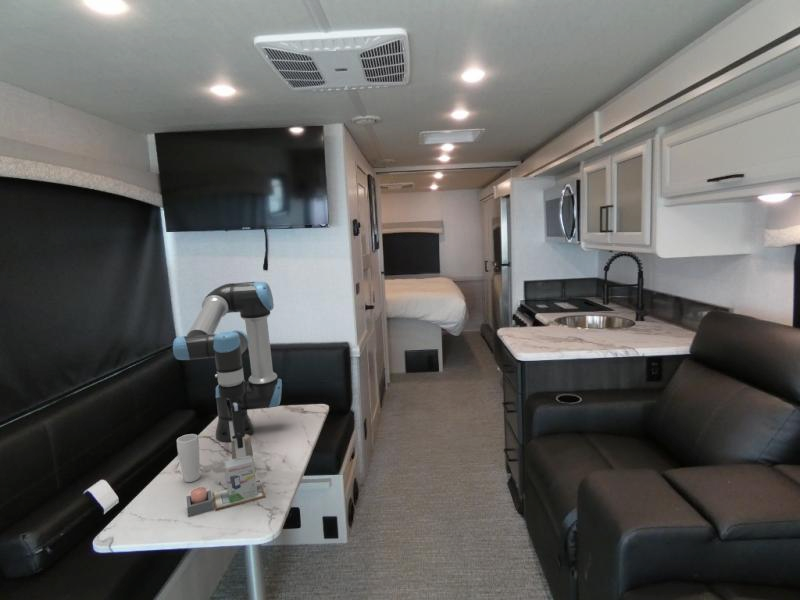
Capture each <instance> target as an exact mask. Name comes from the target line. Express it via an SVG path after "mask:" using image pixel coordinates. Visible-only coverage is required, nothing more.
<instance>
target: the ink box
mask: <svg viewBox="0 0 800 600" xmlns="http://www.w3.org/2000/svg"><path fill="white" fill-rule="evenodd" d="M255 467H256V466H255V461H254V456H253V457H252V456H245V457H241V458H237V459H232V458H231V459H229V460H226V461H224V472H225V474H224V475H225V480H226V483H225V484H226V489H227V492H228V498H229V501H230V503H231V502H235V501H238V500H242V499H245V498H248V497H252V496H255V495H258V493H257V485H256V481H257V478H256V469H255Z"/></svg>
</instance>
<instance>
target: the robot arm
mask: <svg viewBox="0 0 800 600" xmlns="http://www.w3.org/2000/svg"><path fill="white" fill-rule="evenodd" d="M274 306H275V304H274V298H273V293H272V290H271V287H270V285H269V284H268V283H267V282H266V281H246V282H235V283H234V282H233V283H230V282H229V283H225V284H222V285H220V286H218V287H216V288H214V289H213V290H212V291H210V292H209V293H208V294H207V295H206V296H205V298H204V299H203V300H202V303H201V310H200V312H199V314H198V315H197V317H196V319H195V320H194V322H193V324H192V326H191V327H190V329H189V331H188V333H187V334H186V335H182V336H177V337H176V338H174V340H173V343H172V344H173V345H172V353H173V355H174V358H175V359H176V360H179V361H191V360H201V359H212V358H214V359H215V367H216V369H215V370H216V374H214V377H215V378H216V379H217V383H218V385H217V386H215V400H216V408H217V418H218V420H217V425H216V427H215V433H214V434H215V439H216V441H219V442H227V443H230V442H232V441H235V450H236V458H241V457H245V456H246V451H245V442H244V436H245V434H247V435H249V436H250V437H251V436H252V435H253V433H254V431H255V430H254V425H253V423H252V421H251V419H250V417H249V414H248V410H251V411H252V410H259V409H271V408H278V406H280V405H281V404H280V403H281V400H282V392H283V391H282V389H283V388H282V387H283V384H282V383H283V382H282V381H283V380H282V379H281V378H278V374H277V373H276V372H274V370H273V359H272V351H271V340H270V333H269V325H268V318H269V316H270V315H271V311H273V310H274ZM230 313H239V314H240V319H242V320H244V323H245V329H246V330H245V331H246V332H244V331H243V330H237V329H236V330H231V331H223V332H222V331H221V332H219V333H215V332H216V331H217V328H218V326H219V323H220V322H221V319H222V318H223V317H224V316H226V315H227V314H230ZM247 349H248V356H249V363H250V372H251V375H250V376H249V377H248V381H246V380H245V374H244V367H243V358H242V355H243V354H244V353H245V352H246V350H247Z"/></svg>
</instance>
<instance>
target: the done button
mask: <svg viewBox="0 0 800 600" xmlns="http://www.w3.org/2000/svg"><path fill="white" fill-rule="evenodd" d="M206 491H207V488H206V487H203V486H200V487H196V488H194V489H191V491H190V495H191V501H192V505H193V504H196V503H200V502H204V501H207V493H206Z"/></svg>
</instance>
